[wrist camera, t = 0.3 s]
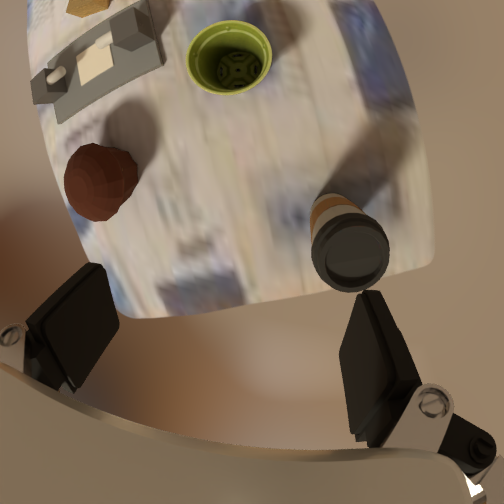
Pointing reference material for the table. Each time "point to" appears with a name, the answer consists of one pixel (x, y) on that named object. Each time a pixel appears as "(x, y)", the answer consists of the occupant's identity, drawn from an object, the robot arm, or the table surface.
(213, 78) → the plant pot
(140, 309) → the table surface
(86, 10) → the tan block
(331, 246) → the coffee cup
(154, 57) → the shaft stand
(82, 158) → the muffin
